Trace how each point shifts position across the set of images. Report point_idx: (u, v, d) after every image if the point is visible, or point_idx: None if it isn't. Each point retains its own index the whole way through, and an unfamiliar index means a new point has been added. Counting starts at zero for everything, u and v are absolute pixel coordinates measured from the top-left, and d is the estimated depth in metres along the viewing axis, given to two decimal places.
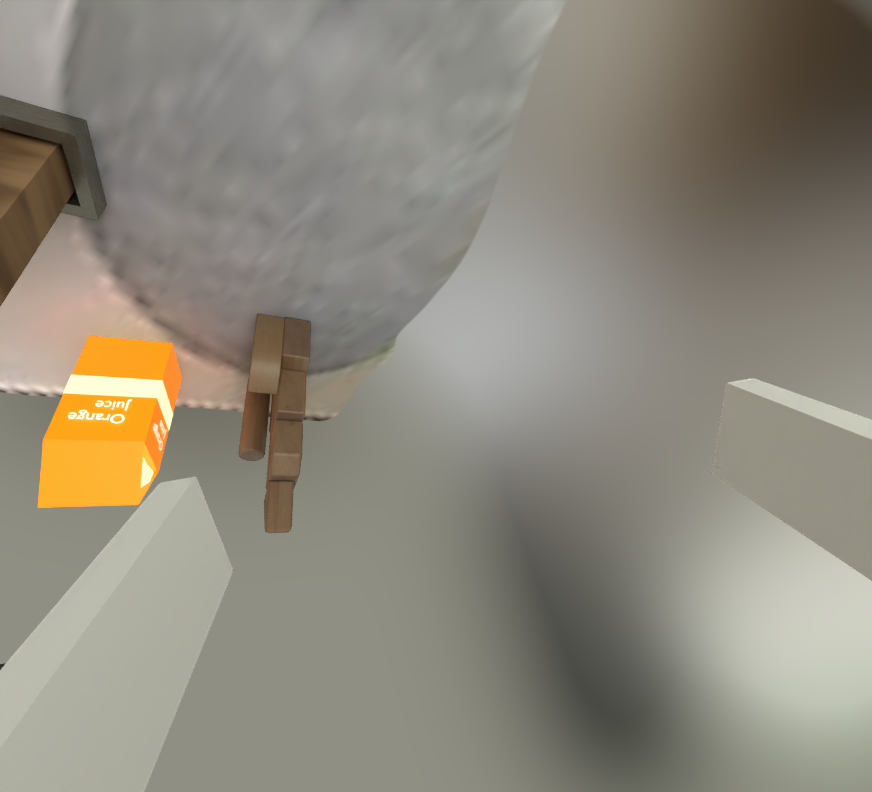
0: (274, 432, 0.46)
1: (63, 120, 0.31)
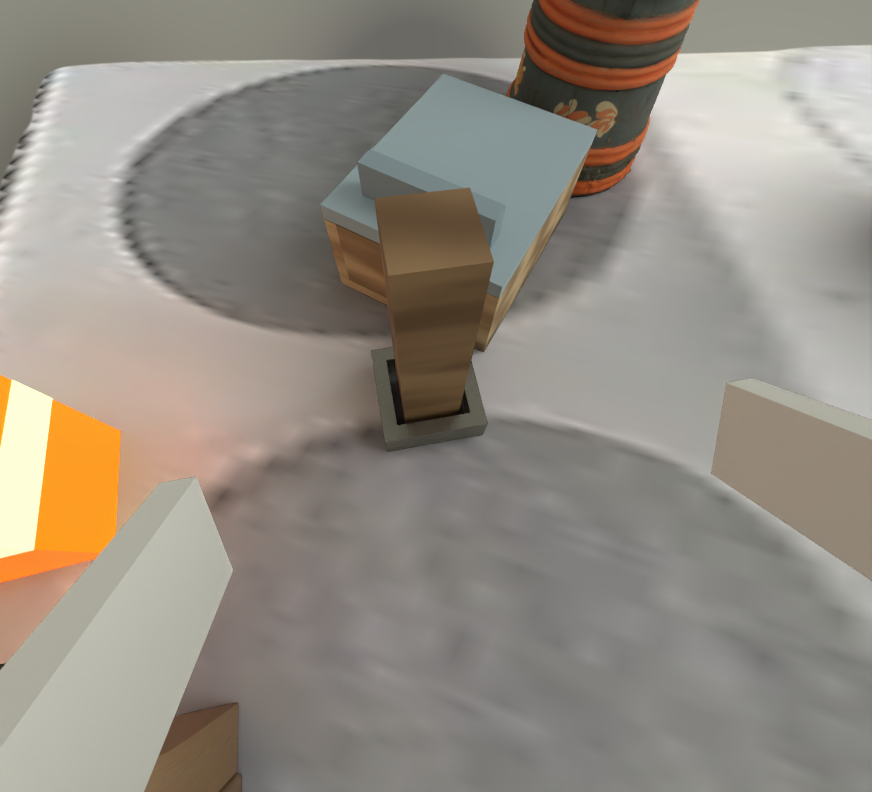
0: None
1: None
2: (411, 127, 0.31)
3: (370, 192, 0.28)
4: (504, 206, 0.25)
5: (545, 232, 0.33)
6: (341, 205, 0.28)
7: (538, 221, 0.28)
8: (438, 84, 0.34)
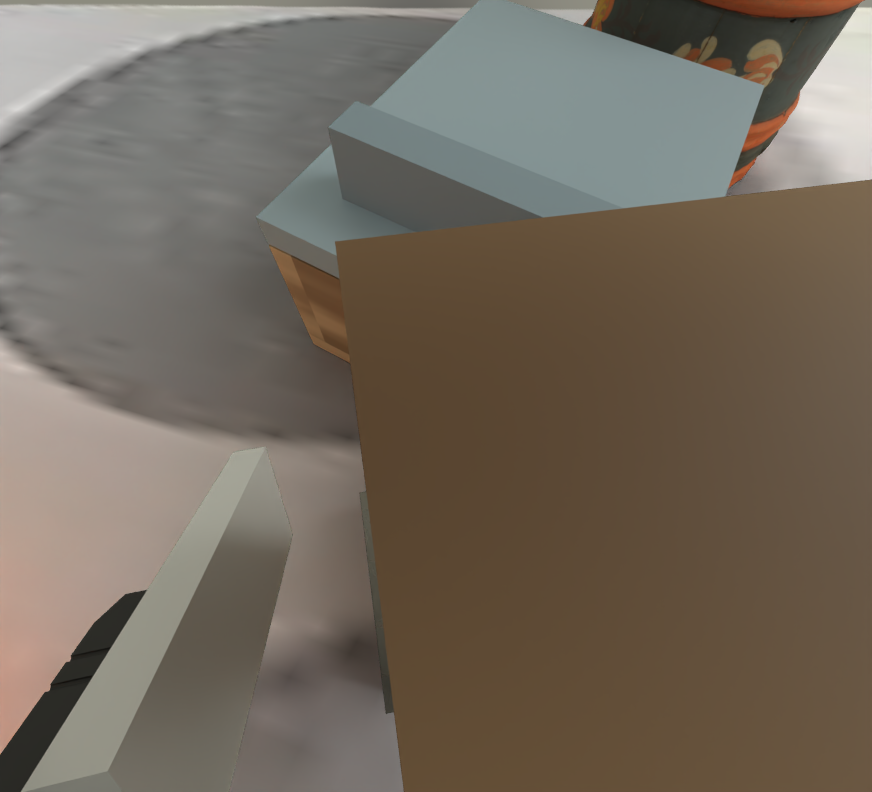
0: None
1: None
2: (435, 76, 0.17)
3: (358, 193, 0.14)
4: None
5: None
6: (299, 219, 0.14)
7: None
8: (479, 9, 0.20)
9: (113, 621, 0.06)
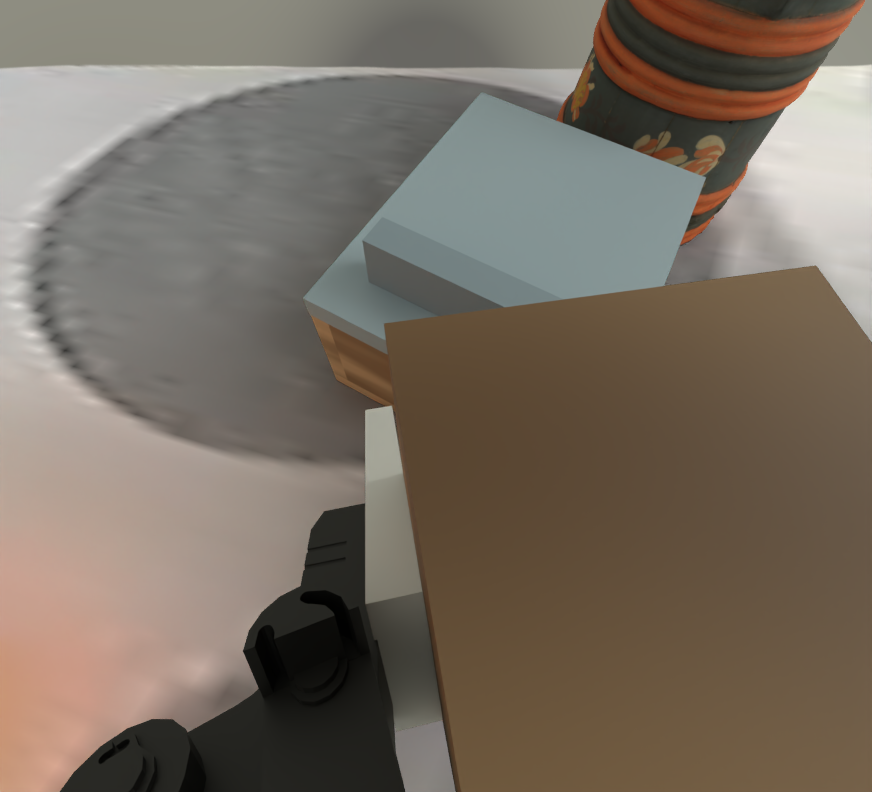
0: None
1: None
2: (440, 171, 0.21)
3: (382, 281, 0.18)
4: None
5: None
6: (336, 300, 0.18)
7: None
8: (475, 107, 0.24)
9: (327, 528, 0.08)
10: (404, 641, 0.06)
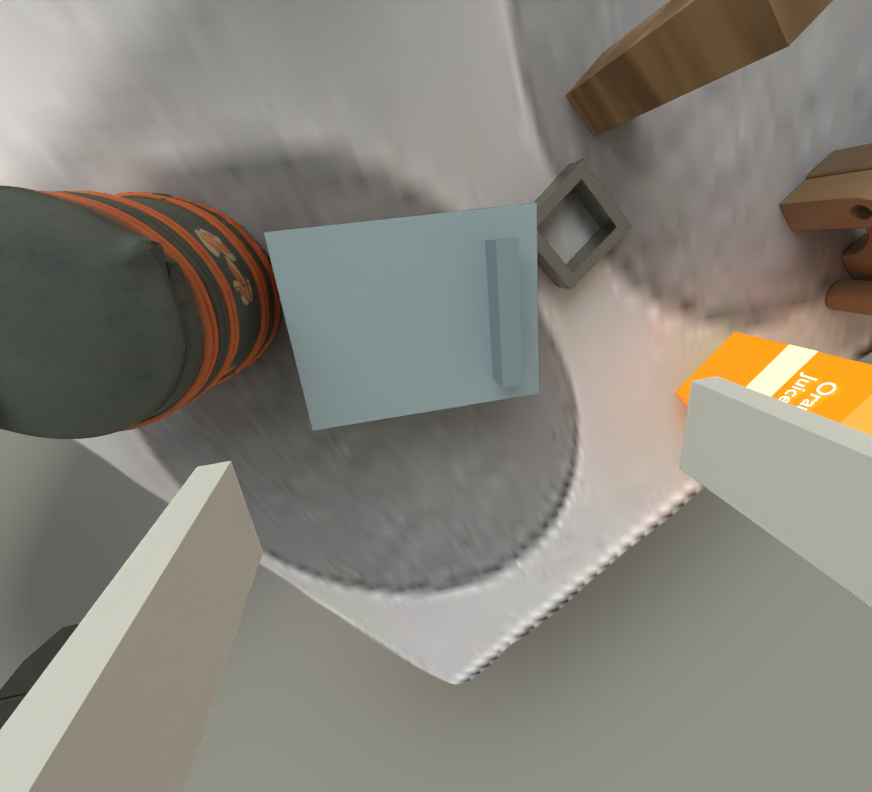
0: None
1: (564, 173, 0.34)
2: (409, 399, 0.31)
3: None
4: (497, 240, 0.25)
5: None
6: (530, 379, 0.32)
7: (444, 216, 0.27)
8: (333, 422, 0.31)
9: (44, 659, 0.06)
10: None
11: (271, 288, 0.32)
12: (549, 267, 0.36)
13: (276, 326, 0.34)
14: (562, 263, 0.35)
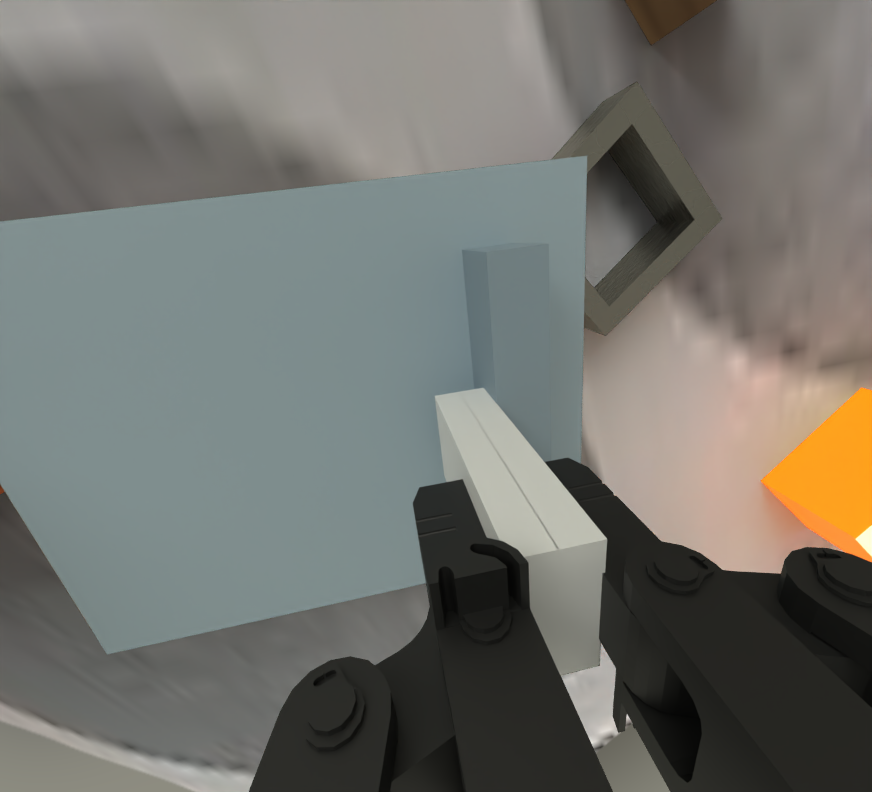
0: None
1: (595, 116, 0.17)
2: (313, 582, 0.15)
3: None
4: (491, 253, 0.09)
5: None
6: None
7: (357, 190, 0.10)
8: (150, 636, 0.14)
9: (427, 501, 0.08)
10: (536, 597, 0.06)
11: None
12: None
13: None
14: (591, 289, 0.19)
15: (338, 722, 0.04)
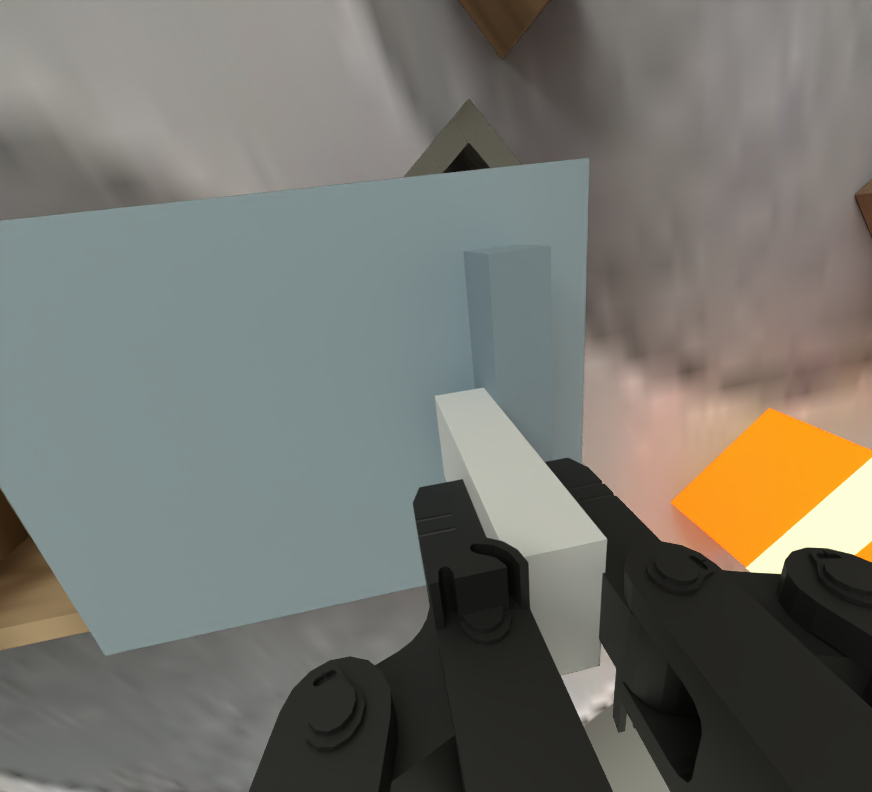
0: None
1: None
2: (312, 583, 0.15)
3: None
4: (493, 255, 0.09)
5: None
6: None
7: (358, 191, 0.10)
8: (148, 637, 0.14)
9: (427, 502, 0.08)
10: (536, 597, 0.06)
11: None
12: None
13: None
14: None
15: (338, 722, 0.04)
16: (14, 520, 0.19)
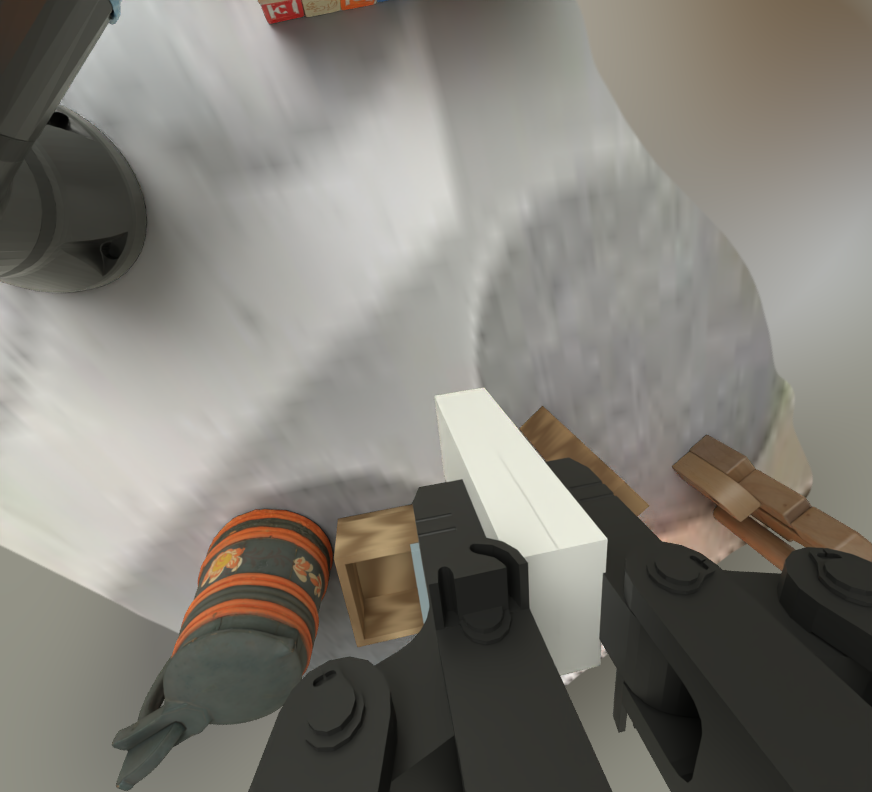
0: (805, 534, 0.44)
1: None
2: None
3: None
4: None
5: (402, 528, 0.47)
6: None
7: None
8: None
9: (427, 501, 0.08)
10: (536, 596, 0.06)
11: (329, 557, 0.50)
12: None
13: None
14: None
15: (338, 722, 0.04)
16: (362, 594, 0.54)
